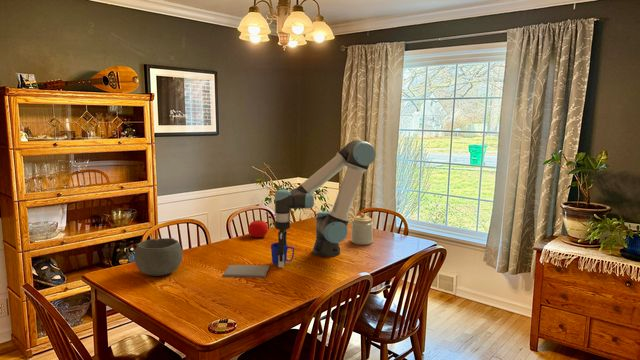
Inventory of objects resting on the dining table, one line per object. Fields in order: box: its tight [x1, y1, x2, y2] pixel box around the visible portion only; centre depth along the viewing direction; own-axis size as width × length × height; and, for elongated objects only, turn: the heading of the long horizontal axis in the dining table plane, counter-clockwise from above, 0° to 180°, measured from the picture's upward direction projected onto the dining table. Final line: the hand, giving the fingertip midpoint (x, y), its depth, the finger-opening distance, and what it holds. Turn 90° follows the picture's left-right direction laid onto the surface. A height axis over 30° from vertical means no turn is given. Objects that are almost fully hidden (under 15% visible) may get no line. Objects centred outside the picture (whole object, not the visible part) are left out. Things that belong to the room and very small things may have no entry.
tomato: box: [247, 219, 269, 239], centre depth 267 cm, size 11×12×10 cm
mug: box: [270, 242, 295, 266], centre depth 218 cm, size 8×12×10 cm
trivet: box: [221, 264, 270, 278], centre depth 207 cm, size 20×14×1 cm
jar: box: [350, 212, 374, 246], centre depth 258 cm, size 13×13×18 cm
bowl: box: [134, 237, 183, 277], centre depth 203 cm, size 21×21×15 cm
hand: (282, 263), depth 219 cm, fingers open, 9 cm apart
